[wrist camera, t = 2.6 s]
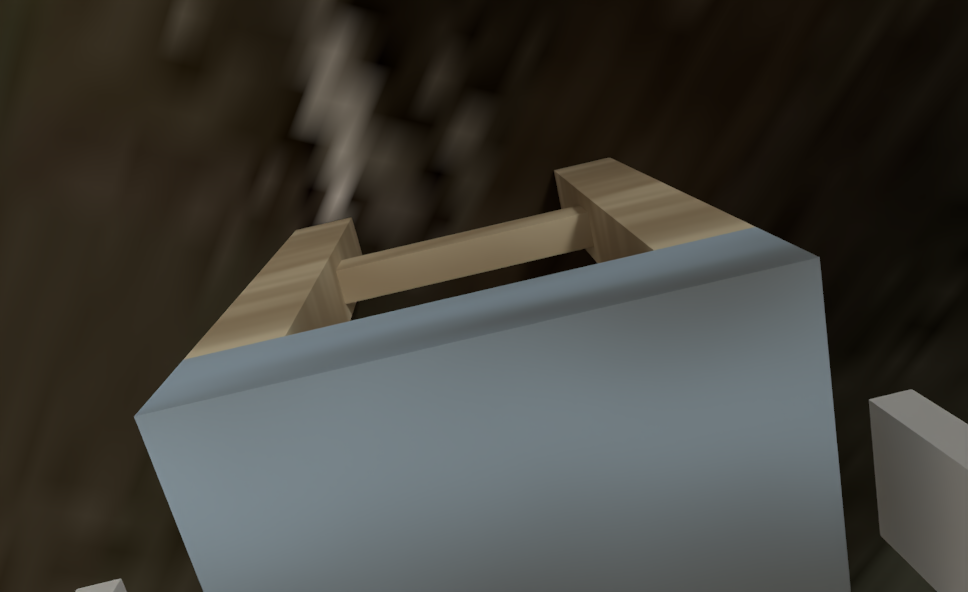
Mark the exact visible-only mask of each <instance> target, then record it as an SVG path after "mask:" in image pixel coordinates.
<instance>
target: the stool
mask: <svg viewBox="0 0 968 592" xmlns="http://www.w3.org/2000/svg"><path fill="white" fill-rule="evenodd" d="M554 174H555V179H556V184H557V190H558V195H559V200H560V205H561V209H560V210H556V211H552V212H547V213H543V214H539V215H534V216H530V217H526V218H522V219H517V220H513V221H509V222H504V223H500V224H496V225H491V226H487V227H483V228H478V229H474V230H470V231H466V232H461V233H457V234H453V235H448V236H444V237H440V238H435V239H431V240H427V241H423V242H418V243H414V244H410V245H405V246H401V247H397V248H392V249H388V250H384V251H379V252H375V253H371V254H367V255H362V252H361V249H360V245H359V241H358V238H357V234H356V231H355V227H354V223H353V220H352V217H351V218H346V219H342V220H338V221H333V222H329V223H325V224H320V225H316V226H312V227H308V228H303V229H299V230H296V231H295V232H294V233H293V234H292V235H291V237H290V238H289V239H288V240H287V241H286V242H285V243H284V245H283V246H282V247H281V248H280V249H279V250H278V252H277V253H276V254H275V255H274V256H273V257H272V258H271V260H270V261H269V262H268V263H267V264H266V265H265V266H264V268H263V269H262V270H261V271H260V272H259V273H258V275H257V276H256V277H255V278H254V279H253V280H252V281H251V283H250V284H249V285H248V286H247V287H246V288H245V289H244V291H243V292H242V293H241V294H240V295H239V296H238V298H237V299H236V300H235V301H234V302H233V303H232V304H231V306H230V307H229V308H228V309H227V310H226V311H225V313H224V314H223V315H222V316H221V317H220V318H219V319H218V321H217V322H216V323H215V324H214V325H213V326H212V327H211V329H210V330H209V331H208V332H207V333H206V334H205V336H204V337H203V338H202V339H201V340H200V341H199V342H198V344H197V345H196V346H195V347H194V348H193V349H192V350H191V352H190V353H189V354H188V355H187V356H186V357H185V359H184V360H183V361H182V362H181V363H180V364H179V365H178V367H177V368H176V369H175V370H174V371H173V372H172V373H171V375H170V376H169V377H168V378H167V379H166V380H165V382H164V383H163V384H162V385H161V386H160V387H159V388H158V390H157V391H156V392H155V393H154V394H153V395H152V396H151V398H150V399H149V400H148V401H147V402H146V403H145V405H144V406H143V407H142V408H141V409H140V410H139V411H138V413H137V414H136V415H135V416H134V418H135V420H136V423H137V425H138V428H139V430H140V433H141V435H142V438H143V440H144V443H145V445H146V448H147V450H148V453H149V455H150V458H151V461H152V463H153V466H154V468H155V471H156V473H157V476H158V478H159V481H160V483H161V486H162V488H163V491H164V493H165V496H166V498H167V501H168V504H169V506H170V509H171V511H172V514H173V516H174V519H175V521H176V524H177V526H178V529H179V531H180V534H181V536H182V539H183V541H184V544H185V547H186V549H187V552H188V554H189V557H190V559H191V562H192V564H193V567H194V569H195V572H196V574H197V577H198V579H199V582H200V584H201V587H202V590H203V592H851V588H850V577H849V566H848V556H847V545H846V534H845V524H844V513H843V502H842V491H841V481H840V470H839V459H838V449H837V438H836V427H835V416H834V406H833V395H832V384H831V374H830V363H829V352H828V341H827V331H826V320H825V309H824V298H823V288H822V277H821V266H820V257H818V256H816V255H814V254H812V253H810V252H808V251H805V250H803V249H801V248H799V247H797V246H795V245H793V244H791V243H789V242H786V241H784V240H782V239H780V238H778V237H776V236H774V235H772V234H770V233H768V232H765V231H763V230H761V229H759V228H757V227H755V226H753V225H751V224H749V223H747V222H744V221H742V220H740V219H738V218H736V217H734V216H732V215H730V214H728V213H725V212H723V211H721V210H719V209H717V208H715V207H713V206H711V205H709V204H707V203H704V202H702V201H700V200H698V199H696V198H694V197H692V196H690V195H688V194H686V193H683V192H681V191H679V190H677V189H675V188H673V187H671V186H669V185H667V184H665V183H662V182H660V181H658V180H656V179H654V178H652V177H650V176H648V175H646V174H643V173H641V172H639V171H637V170H635V169H633V168H631V167H629V166H627V165H625V164H622V163H620V162H618V161H616V160H614V159H612V158H610V157H609V158H605V159H600V160H596V161H592V162H587V163H583V164H579V165H574V166H570V167H566V168H561V169H557V170H554ZM581 249H586V251H587V252H588V253H589V254H590V255H591V256H592V258H593V259H594V260H595V261H596V262H597V263H598V264H594V265H589V266H585V267H581V268H576V269H572V270H568V271H564V272H559V273H555V274H551V275H546V276H542V277H538V278H533V279H529V280H525V281H520V282H516V283H512V284H508V285H503V286H499V287H495V288H490V289H486V290H482V291H477V292H473V293H469V294H465V295H460V296H456V297H452V298H447V299H443V300H439V301H434V302H430V303H426V304H421V305H417V306H413V307H409V308H404V309H400V310H396V311H391V312H387V313H383V314H378V315H374V316H370V317H366V318H361V319H357V320H353V321H350V320H351V317H352V314H353V311H354V308H355V305H356V302H357V301H361V300H365V299H370V298H374V297H378V296H383V295H387V294H391V293H396V292H400V291H404V290H408V289H413V288H417V287H421V286H426V285H430V284H434V283H439V282H443V281H447V280H452V279H456V278H460V277H464V276H469V275H473V274H477V273H482V272H486V271H490V270H495V269H499V268H503V267H508V266H512V265H516V264H520V263H525V262H529V261H533V260H538V259H542V258H546V257H551V256H555V255H559V254H563V253H568V252H572V251H576V250H581Z"/></svg>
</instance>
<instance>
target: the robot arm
mask: <svg viewBox="0 0 968 592" xmlns="http://www.w3.org/2000/svg"><path fill="white" fill-rule="evenodd" d="M869 410H870V422H871V433H872V445H873V457H874V468H875V480H876V492H877V504H878V515H879V527H880V536H881V537H882V538H883V539H884V540H885V541H886V542H887V543H888V544H889V545H890V546H891V547H892V548H893V549H894V550H895V551H896V552H897V553H898V554H899V555H901V556H902V557H903V558H904V559H905V560H906V561H907V562H908V563H909V564H910V565H911V566H912V567H913V568H914V569H915V570H916V571H917V572H918V573H919V574H920V575H921V576H922V577H923V578H924V579H925V580H926V581H927V582H928V583H929V584H930V585H931V586H932V587H933V588H934V589H935V590H936V591H937V592H968V424H967V423H965V422H964V421H962V420H960V419H959V418H957V417H956V416H954V415H952V414H951V413H949V412H948V411H946V410H944V409H943V408H941V407H939V406H938V405H936V404H935V403H933V402H931V401H930V400H928V399H927V398H925V397H923V396H922V395H920V394H919V393H917V392H915V391H914V390H912V389H910V390H906V391H902V392H898V393H893V394H889V395H885V396H881V397H877V398H873V399H869ZM75 592H127V591H126V589H125V586H124V584H123V582H122V579H117V580H113V581H109V582H104V583H100V584H96V585H92V586H88V587H83V588H79V589H77V590H76V591H75Z"/></svg>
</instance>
